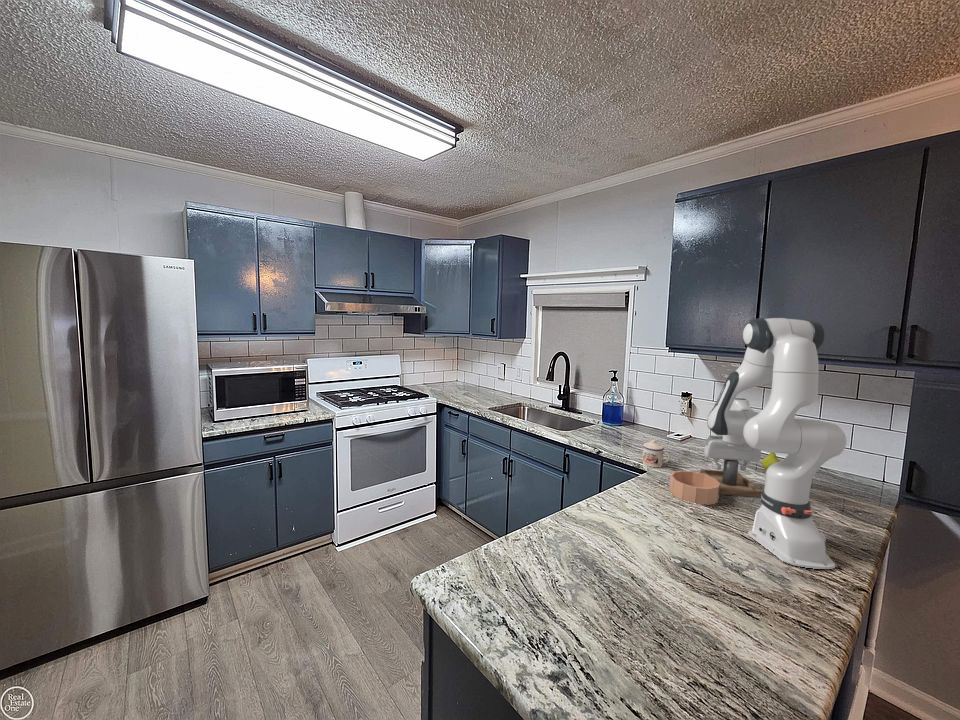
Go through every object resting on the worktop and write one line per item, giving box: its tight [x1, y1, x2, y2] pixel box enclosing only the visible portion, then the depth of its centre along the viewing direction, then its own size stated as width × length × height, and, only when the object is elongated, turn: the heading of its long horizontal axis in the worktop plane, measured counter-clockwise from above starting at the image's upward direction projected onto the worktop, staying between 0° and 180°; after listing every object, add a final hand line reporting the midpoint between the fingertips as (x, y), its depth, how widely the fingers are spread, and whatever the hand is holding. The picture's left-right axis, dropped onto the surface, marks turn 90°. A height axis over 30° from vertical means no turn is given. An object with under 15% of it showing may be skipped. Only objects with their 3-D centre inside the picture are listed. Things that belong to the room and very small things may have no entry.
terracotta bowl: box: [668, 470, 720, 505], centre depth 156 cm, size 17×17×6 cm
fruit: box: [761, 452, 781, 471], centre depth 180 cm, size 7×7×12 cm
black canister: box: [722, 459, 740, 486], centre depth 165 cm, size 5×5×10 cm
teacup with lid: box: [642, 439, 671, 468], centre depth 186 cm, size 12×9×12 cm
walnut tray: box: [699, 469, 763, 499], centre depth 165 cm, size 20×15×2 cm
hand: (730, 469), depth 164 cm, fingers open, 8 cm apart
